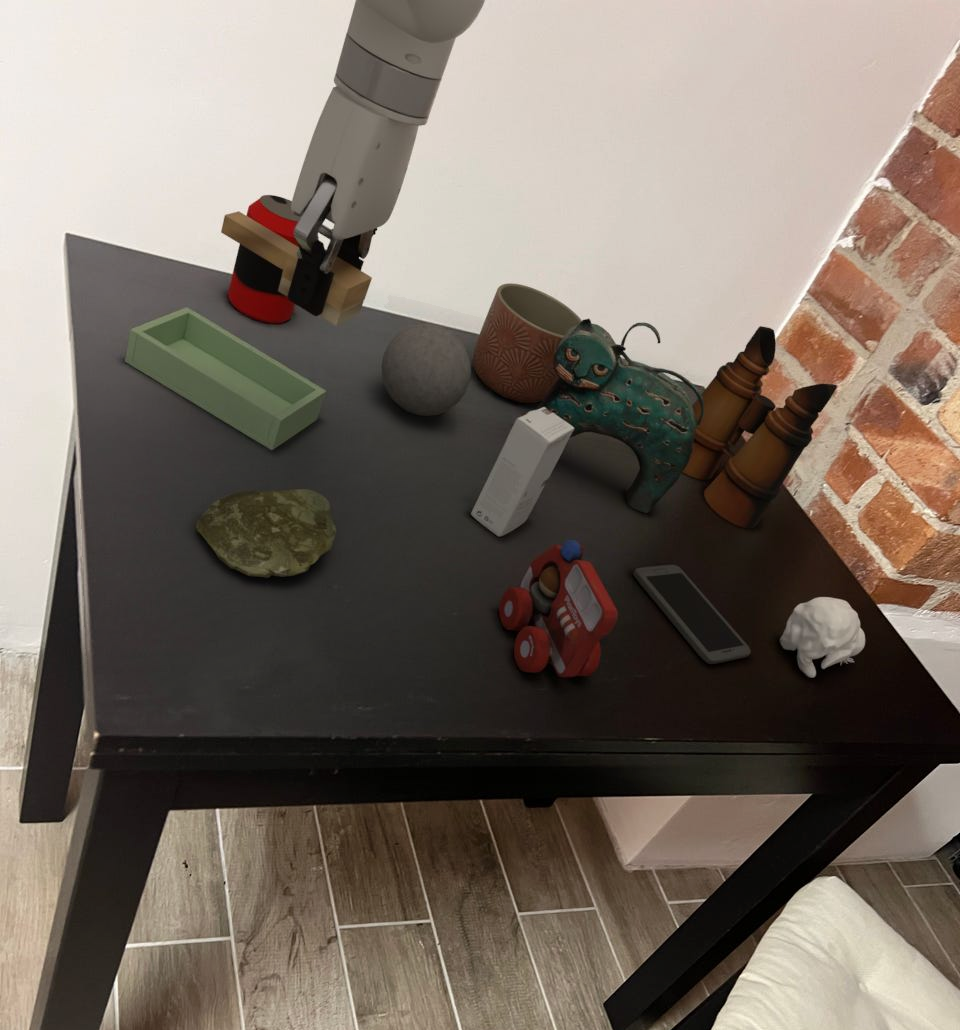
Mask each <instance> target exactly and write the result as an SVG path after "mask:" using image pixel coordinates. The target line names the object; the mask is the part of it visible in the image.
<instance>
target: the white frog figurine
mask: <svg viewBox="0 0 960 1030" xmlns="http://www.w3.org/2000/svg"><path fill="white" fill-rule="evenodd" d="M779 644H780V645H781V647H782V649H784V650H787V651H792V652H795V651H796V650H797V654H796V661H797V665H798V668H799V670H800V671H801V672H802V673H803V674H804V675H805V676H806V677H808V678H811V679H812V678H813V679H814V678H815V677H816V676H817V670H816V666H815V665H814V663H813V660H819V659H821V658H823V657H825V658H824V659H823V660H822V661H821V664H820V667H821V669H823V670H825V669H826V668H829V667H831V666H833V665H835V664H839V663H840V665H842V664H843V663H846V664H849V663H855V661H854V659H853V658H852V657H855V656H857V655H858V654H860V653H861V652H862V651H863V649H864V648H865V645H866V635H865V632H864V630H863V629H862V628H861V620H860V618H859V614H858V612H857V611H856V610H855V609H854V608H852V606H851V604H850V603H849V602H848V601H846V600H845V599H841V598H836V597H835V598H834V597H829V596H818V597H815V598H812V599H811V600H808V601H806V602H801V603H799V604H797V605H796V606H795V608H794V609H793V611H792V612H791V615H789V617H788V619H787V622H786V626H785V629H784V630H783V634H782V635H781V636H780V637H779ZM848 662H849V663H848Z"/></svg>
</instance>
